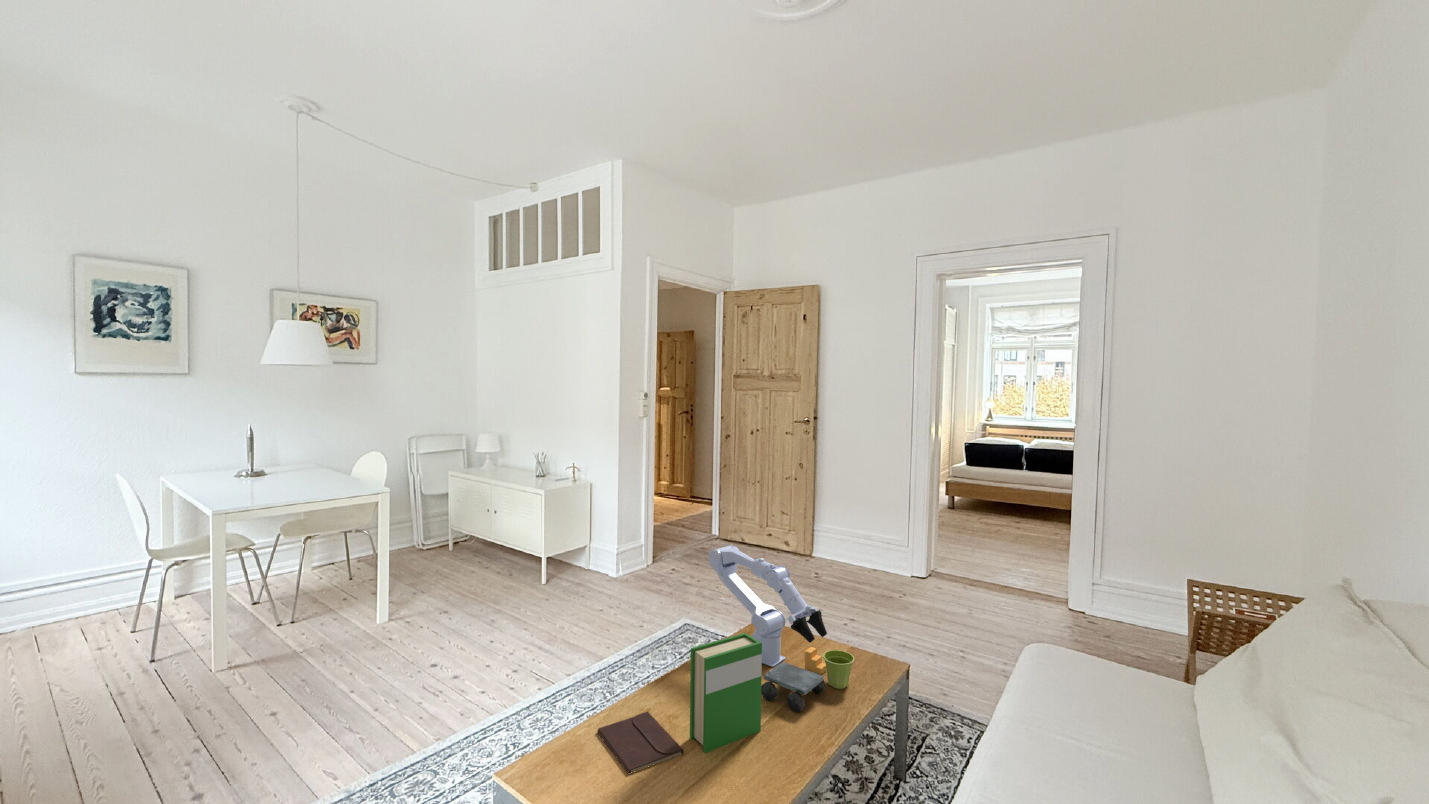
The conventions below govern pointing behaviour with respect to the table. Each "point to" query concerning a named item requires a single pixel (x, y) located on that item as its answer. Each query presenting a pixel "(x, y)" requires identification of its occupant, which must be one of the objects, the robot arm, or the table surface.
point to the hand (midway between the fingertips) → (818, 638)
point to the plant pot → (838, 667)
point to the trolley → (792, 684)
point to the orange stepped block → (814, 661)
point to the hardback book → (725, 691)
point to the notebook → (639, 742)
